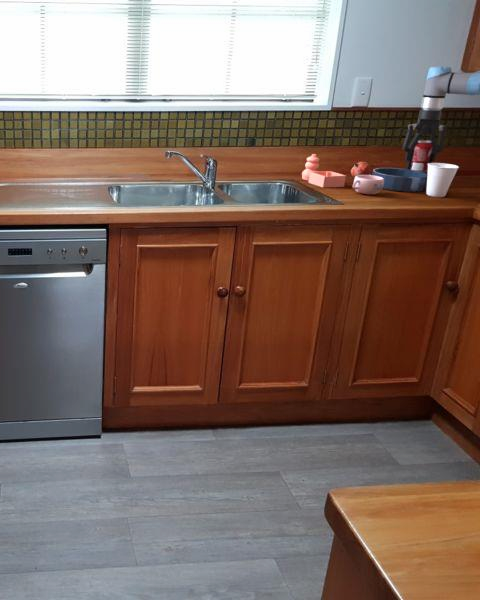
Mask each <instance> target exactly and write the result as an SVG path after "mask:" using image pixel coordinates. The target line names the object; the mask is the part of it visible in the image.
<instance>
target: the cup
mask: <svg viewBox="0 0 480 600" xmlns="http://www.w3.org/2000/svg"><path fill="white" fill-rule="evenodd" d="M459 168H460V166H458V165H456V164H451V163H445V162H432V163H428V170H427V174H428V177H427V185H426V191H425V194H426V195H427V196H429V197H433V198H444V197H446V196H447V193H448V191H449V188H450V186H451V184H452V182H453V180H454V178H455V176H456V174H457V172H458V169H459Z"/></svg>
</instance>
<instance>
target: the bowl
mask: <svg viewBox="0 0 480 600" xmlns="http://www.w3.org/2000/svg"><path fill="white" fill-rule="evenodd" d="M371 175H373V176H379V177H382V178H383V179H384V185H383V188H382V189H381V190H387V191H391V192H392V191H393V192H400V191H401V193H417V192H416V191H418V192H422V191H425V190H427V177H428V173H426V172H424V173H423V172H419V171H415V170H408V169H406V168H397V167H377V168H373V170H372V173H371ZM402 191H403V192H402Z"/></svg>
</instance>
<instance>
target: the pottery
mask: <svg viewBox="0 0 480 600" xmlns="http://www.w3.org/2000/svg"><path fill="white" fill-rule="evenodd" d="M319 162H320V158H319V157H318V156H317V154H316V153H312V154H311V156H308V157H307V158H306V163H305V165H304V167H305V169H304V170H303V171H302V172H301V179H302V180H305V181H308V184H311V185H315V186H317V187H320V188H323V189H324V188H344V187H345V184H346V179H347V175H345V174H342V173H339V172H335V171H332V170H326V171H325V170H324V171H323V170H322V171H321V170H320V171H319V170H318V169H319V168H320V163H319Z"/></svg>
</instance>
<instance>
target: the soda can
mask: <svg viewBox="0 0 480 600" xmlns="http://www.w3.org/2000/svg"><path fill="white" fill-rule="evenodd" d="M431 143H432V141H430V140H424V139H419V140H418V142H417V144H416V145H415V147H414V149H413V150H412V153H413V157H412V162H411V167H410V170H415V171H419V172H423V173H426V172H428V170H427V169H428V163H429V160H430V156H431V153H432V147H433V146H432V144H431ZM408 170H409V169H408Z"/></svg>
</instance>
